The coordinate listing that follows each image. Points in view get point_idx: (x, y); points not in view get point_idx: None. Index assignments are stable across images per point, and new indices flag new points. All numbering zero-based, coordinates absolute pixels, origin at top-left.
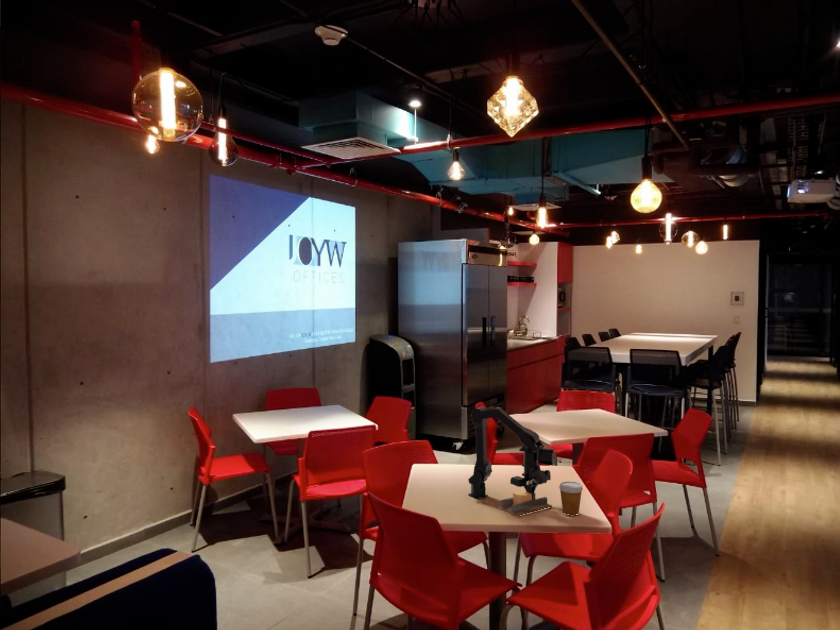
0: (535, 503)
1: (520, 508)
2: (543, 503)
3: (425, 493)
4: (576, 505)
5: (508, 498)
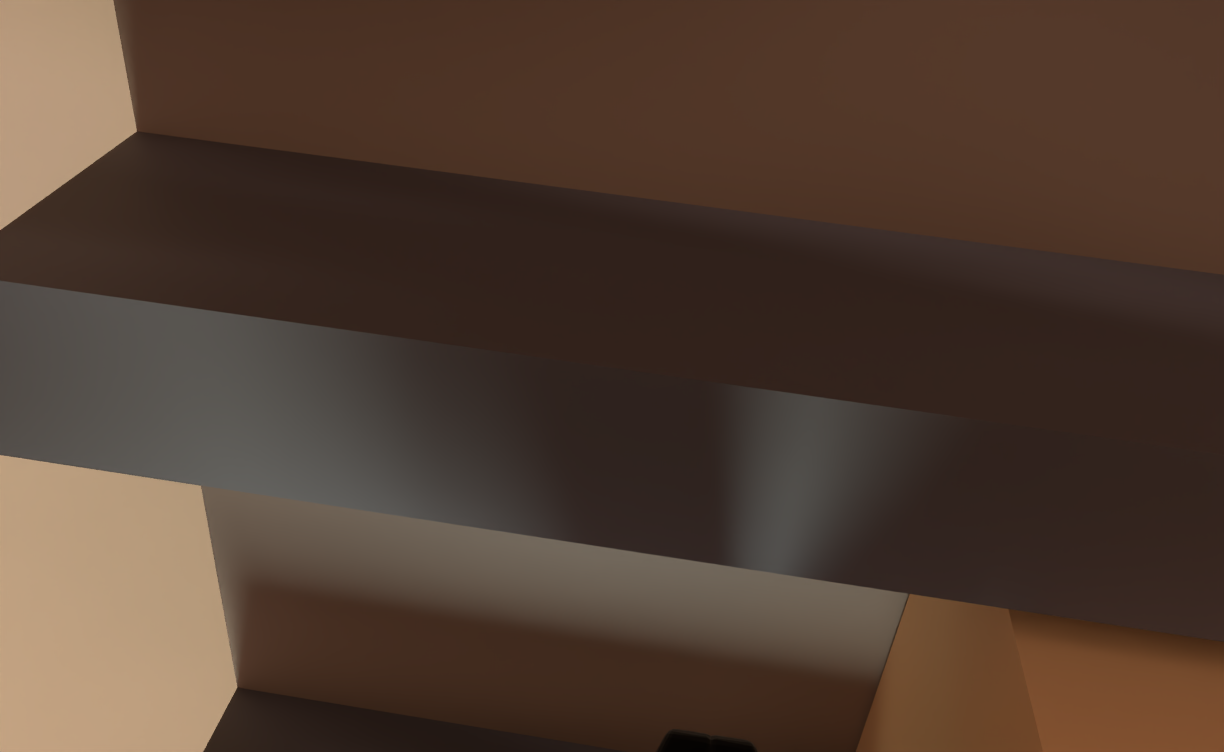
0: (997, 331)
1: None
2: (385, 187)
3: None
4: None
5: None
